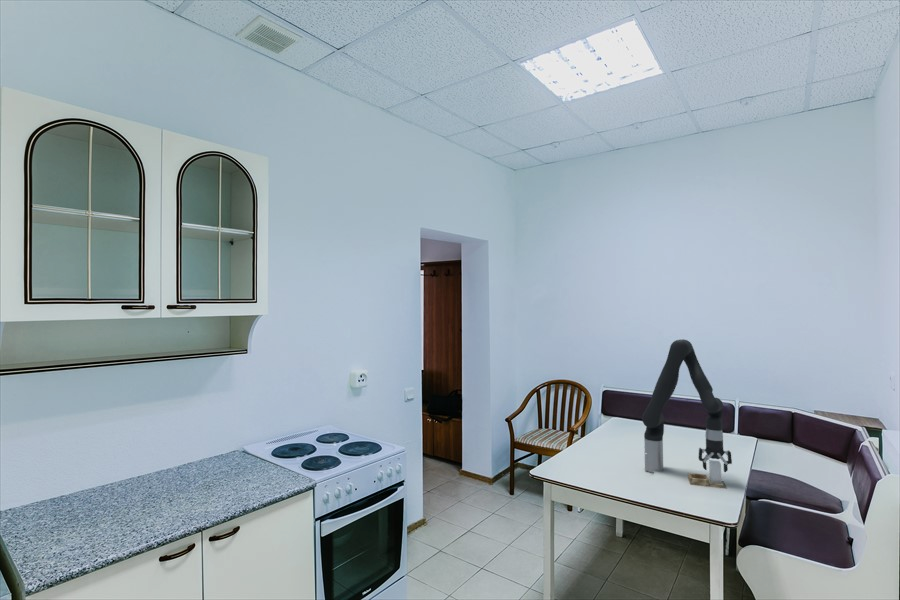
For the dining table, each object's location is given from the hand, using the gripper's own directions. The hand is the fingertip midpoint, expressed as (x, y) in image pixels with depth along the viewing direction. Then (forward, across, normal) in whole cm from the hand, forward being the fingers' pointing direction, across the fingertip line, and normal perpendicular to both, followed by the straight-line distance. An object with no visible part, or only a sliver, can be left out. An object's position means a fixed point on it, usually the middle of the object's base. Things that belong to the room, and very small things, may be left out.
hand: (715, 470), depth 224 cm
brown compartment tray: (+7, -4, -2) cm, 8 cm away
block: (+6, 0, 0) cm, 6 cm away
